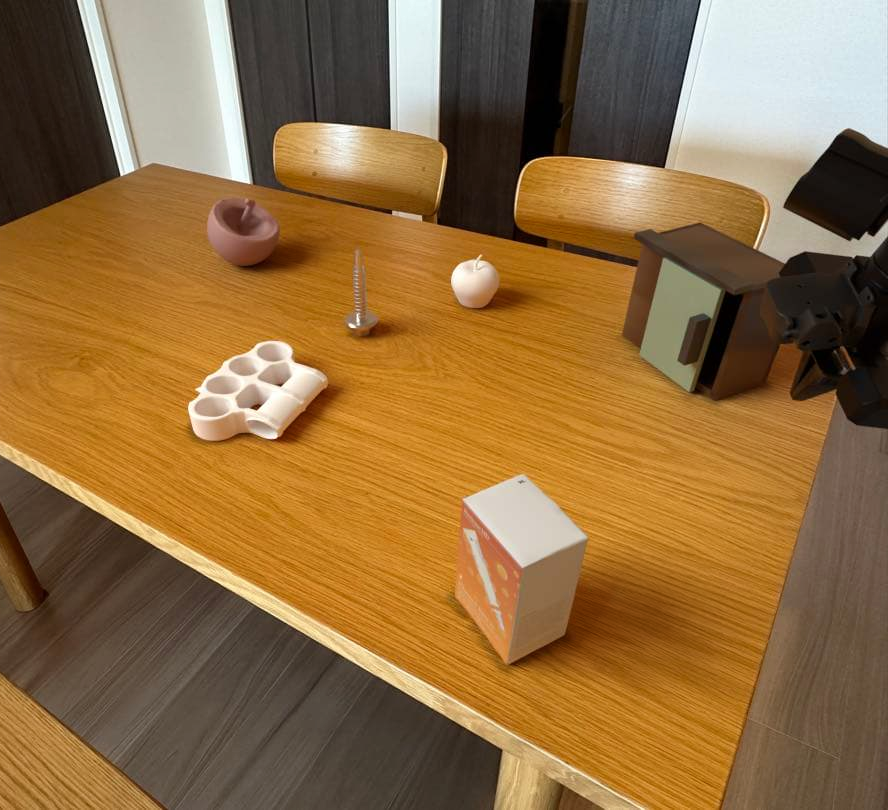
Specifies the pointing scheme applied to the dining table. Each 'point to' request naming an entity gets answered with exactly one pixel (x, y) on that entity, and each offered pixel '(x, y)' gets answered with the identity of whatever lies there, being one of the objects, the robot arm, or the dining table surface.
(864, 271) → the robot arm
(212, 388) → the white brass knuckles
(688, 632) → the dining table surface
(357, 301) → the screw
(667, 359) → the sliding door
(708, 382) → the cupboard
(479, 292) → the apple
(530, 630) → the small box
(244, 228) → the mortar and pestle
